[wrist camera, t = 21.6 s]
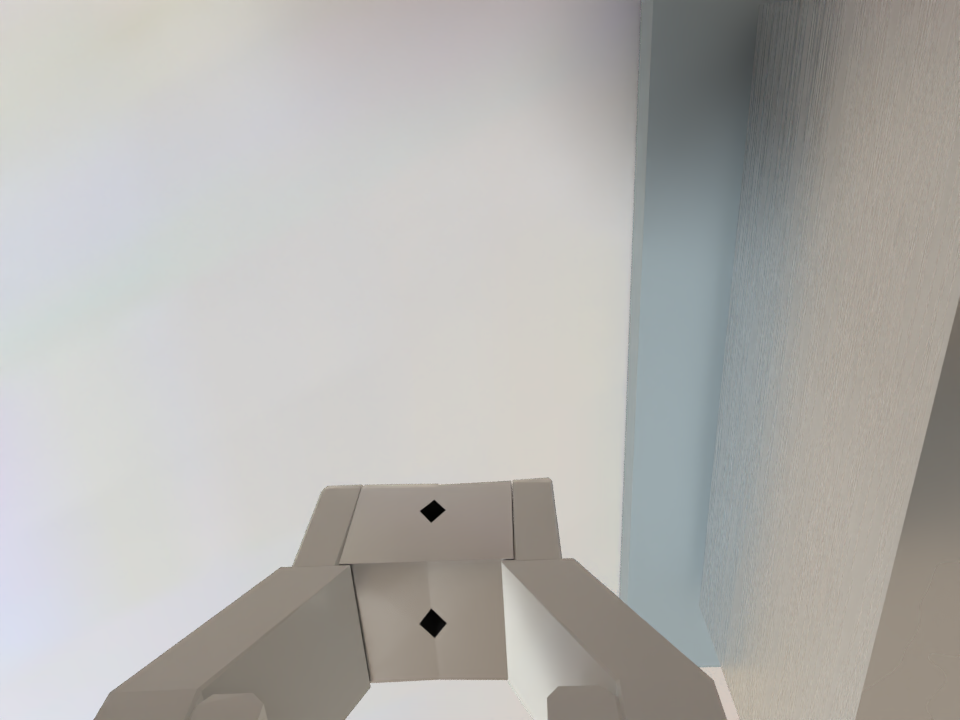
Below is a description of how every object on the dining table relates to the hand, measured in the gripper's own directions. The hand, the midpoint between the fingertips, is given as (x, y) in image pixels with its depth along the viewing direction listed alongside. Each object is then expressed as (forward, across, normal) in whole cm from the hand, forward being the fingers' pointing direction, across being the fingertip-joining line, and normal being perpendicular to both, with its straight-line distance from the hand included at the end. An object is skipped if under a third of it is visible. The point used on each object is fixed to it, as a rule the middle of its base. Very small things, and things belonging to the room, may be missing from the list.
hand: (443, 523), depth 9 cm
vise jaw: (+4, -7, 0) cm, 8 cm away
